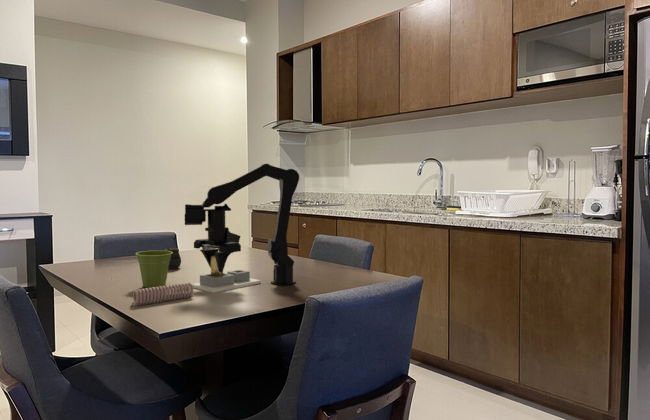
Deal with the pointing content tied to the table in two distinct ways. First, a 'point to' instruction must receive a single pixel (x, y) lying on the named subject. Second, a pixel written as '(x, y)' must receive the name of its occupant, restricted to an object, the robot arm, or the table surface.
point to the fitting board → (225, 281)
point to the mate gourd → (174, 258)
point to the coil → (162, 294)
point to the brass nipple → (215, 268)
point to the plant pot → (154, 267)
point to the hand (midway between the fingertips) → (217, 271)
